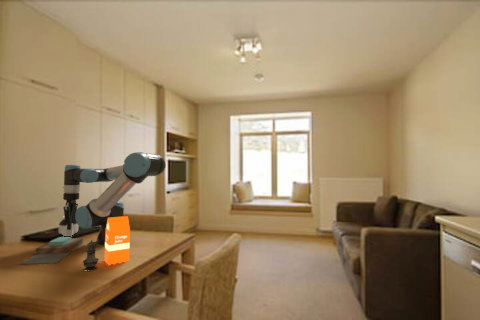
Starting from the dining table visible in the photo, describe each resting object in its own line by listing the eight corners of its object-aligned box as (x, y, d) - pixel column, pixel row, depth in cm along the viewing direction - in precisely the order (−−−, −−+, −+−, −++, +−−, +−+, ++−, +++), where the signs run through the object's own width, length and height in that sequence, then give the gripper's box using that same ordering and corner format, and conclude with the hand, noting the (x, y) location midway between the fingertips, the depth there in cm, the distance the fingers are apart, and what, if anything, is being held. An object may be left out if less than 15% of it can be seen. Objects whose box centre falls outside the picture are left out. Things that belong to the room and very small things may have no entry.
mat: (70, 253, 134) (70, 252, 134) (56, 263, 120) (56, 262, 120) (38, 254, 131) (38, 253, 131) (20, 264, 117) (20, 263, 117)
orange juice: (104, 260, 125) (105, 216, 125) (124, 257, 130) (126, 214, 131) (108, 265, 118) (109, 219, 119) (129, 261, 124) (130, 217, 124)
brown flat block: (82, 243, 151) (82, 238, 151) (67, 253, 133) (68, 247, 134) (54, 244, 149) (54, 238, 149) (36, 254, 131) (36, 248, 131)
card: (71, 240, 146) (71, 236, 146) (62, 245, 136) (62, 241, 136) (58, 240, 145) (59, 237, 145) (49, 246, 135) (49, 241, 135)
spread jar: (72, 232, 176) (72, 214, 176) (84, 234, 171) (84, 216, 172) (52, 236, 165) (53, 217, 165) (65, 238, 160) (66, 219, 161)
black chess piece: (87, 272, 110) (88, 242, 110) (79, 269, 113) (80, 240, 113) (101, 268, 115) (102, 239, 115) (93, 265, 118) (94, 237, 118)
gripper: (69, 191, 158) (67, 232, 157) (58, 193, 145) (56, 238, 144) (83, 191, 159) (81, 232, 158) (73, 193, 146) (72, 238, 145)
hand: (69, 235), depth 151 cm, fingers closed
